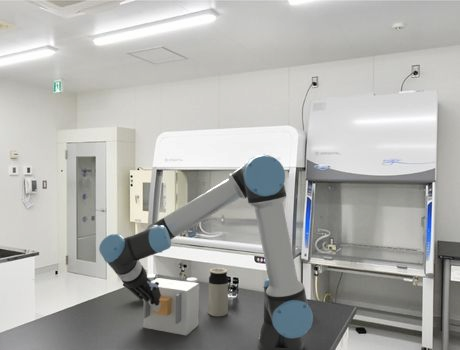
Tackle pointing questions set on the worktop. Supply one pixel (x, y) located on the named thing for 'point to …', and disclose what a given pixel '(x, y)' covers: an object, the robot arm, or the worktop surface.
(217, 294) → the travel mug
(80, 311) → the worktop surface
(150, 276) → the pneumatic valve
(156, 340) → the worktop surface
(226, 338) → the worktop surface
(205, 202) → the robot arm
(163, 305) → the button
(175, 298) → the box
